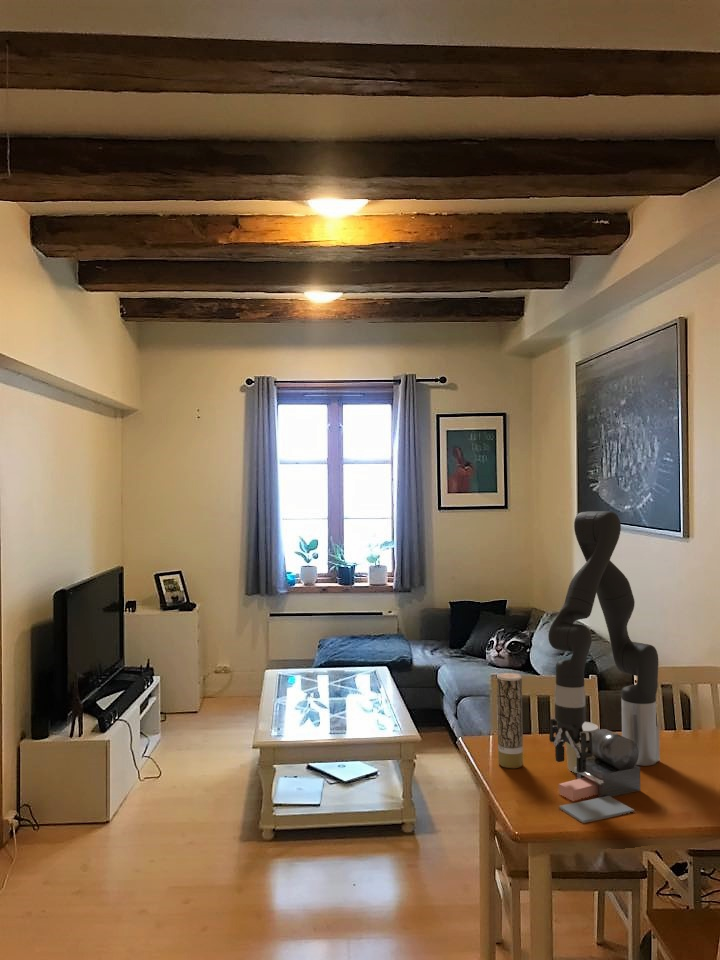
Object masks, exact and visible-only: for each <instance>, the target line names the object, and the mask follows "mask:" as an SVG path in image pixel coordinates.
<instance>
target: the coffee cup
mask: <svg viewBox="0 0 720 960" xmlns="http://www.w3.org/2000/svg"><path fill="white" fill-rule="evenodd" d="M582 728H583V731H584V732H591V734H592V737H593V735H594V734H595V733H596V732H597V731H598V730H600V728H599V726H598V724H595V723H593V722H590V721H585V722H584V723H583V725H582ZM577 744H580V741H579V743H577ZM565 750H566V761H567V768H568V771H569V772H571V771H572V772H571V773H573V772H574V773H573V774H576V773H577V772H575V771H574V767H577V755H576V752H575V750H574V749H572V747H571V745H570V744H569V743H568V742H565ZM579 751H580V753H581V749H580V748H579ZM586 751H587V752H588V747H587V748H586ZM593 758H595V757H594V756H593V755H592V757H587V758H586V760H587V759H593Z"/></svg>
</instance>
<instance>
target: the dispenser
mask: <svg viewBox="0 0 720 960" xmlns="http://www.w3.org/2000/svg"><path fill="white" fill-rule="evenodd" d="M592 755H593V756H594V757H595V758H593V759H587V760H586V771H585V772H583V773H579V772H577V767H574V771H575V772H577V774H576V779H579V778H583V777H587V778H588V779H590V780H592V781H594V782H596V783H598V794H597V795H598V798H601V797H605V796H610V797H612V798H613V797H616V796H620V795H621V796H622V795H627V794H630V793H635V792H641V766H640V765H636V763H637V760H638V757H639V750H638V747H637V745H636V743H635V742H634V741H632V740H630V739H628V738H625V737H623V736H622V734H618V733H615V732H614V731H612V730H609V729H605V728H601V729H599V730H598V731H597V732H596V733H595V734H594V735H593V737H592Z"/></svg>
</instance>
